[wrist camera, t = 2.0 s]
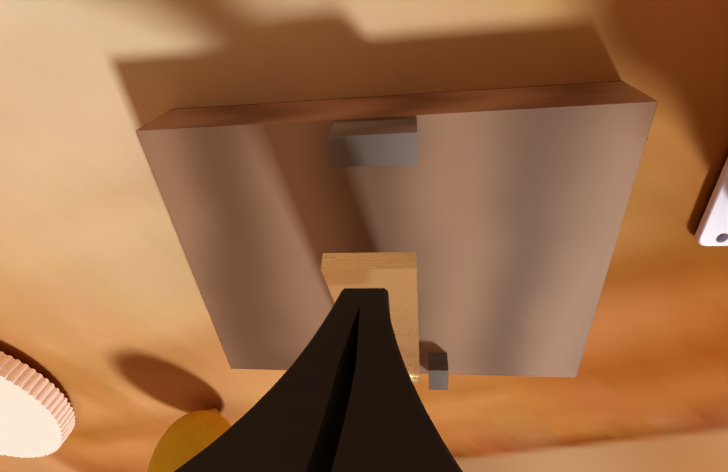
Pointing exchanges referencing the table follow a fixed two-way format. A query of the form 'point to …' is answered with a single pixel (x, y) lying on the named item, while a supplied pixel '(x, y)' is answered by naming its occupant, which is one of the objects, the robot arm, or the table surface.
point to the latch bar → (393, 276)
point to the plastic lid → (30, 411)
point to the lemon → (187, 439)
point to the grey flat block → (408, 215)
